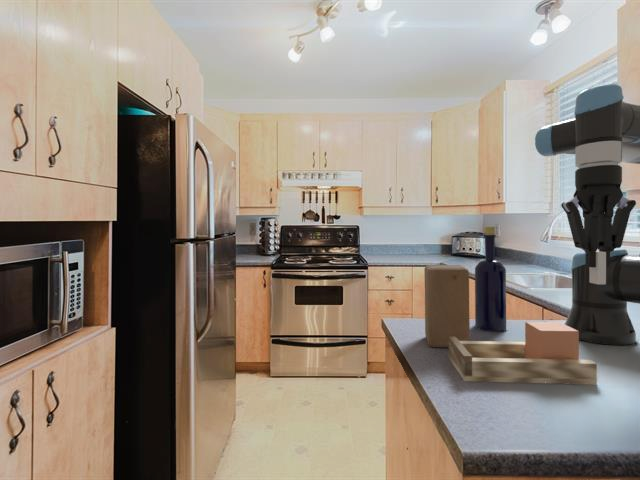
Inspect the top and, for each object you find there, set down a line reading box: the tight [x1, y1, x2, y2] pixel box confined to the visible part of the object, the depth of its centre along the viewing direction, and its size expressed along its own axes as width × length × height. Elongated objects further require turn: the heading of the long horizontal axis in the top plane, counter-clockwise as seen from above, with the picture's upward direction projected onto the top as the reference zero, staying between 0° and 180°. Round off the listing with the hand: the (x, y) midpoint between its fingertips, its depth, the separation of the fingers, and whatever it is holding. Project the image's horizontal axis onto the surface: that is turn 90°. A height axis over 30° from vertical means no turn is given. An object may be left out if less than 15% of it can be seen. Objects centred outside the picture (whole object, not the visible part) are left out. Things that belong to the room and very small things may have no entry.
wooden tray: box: [448, 336, 598, 386], centre depth 77 cm, size 24×13×5 cm, turn 83°
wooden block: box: [423, 264, 471, 349], centre depth 95 cm, size 10×10×20 cm
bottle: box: [474, 226, 507, 333], centre depth 108 cm, size 9×9×30 cm
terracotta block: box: [524, 321, 580, 360], centre depth 76 cm, size 7×7×8 cm
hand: (597, 283), depth 74 cm, fingers closed
